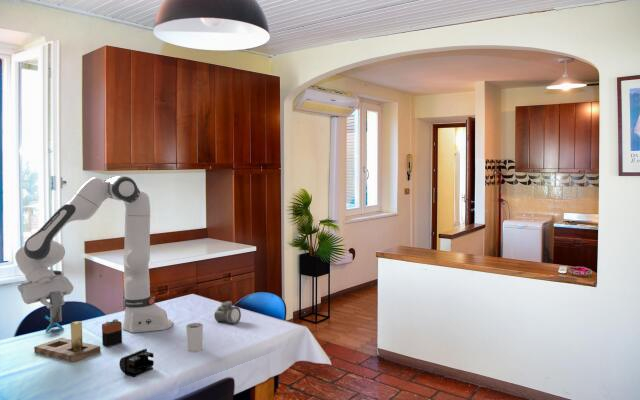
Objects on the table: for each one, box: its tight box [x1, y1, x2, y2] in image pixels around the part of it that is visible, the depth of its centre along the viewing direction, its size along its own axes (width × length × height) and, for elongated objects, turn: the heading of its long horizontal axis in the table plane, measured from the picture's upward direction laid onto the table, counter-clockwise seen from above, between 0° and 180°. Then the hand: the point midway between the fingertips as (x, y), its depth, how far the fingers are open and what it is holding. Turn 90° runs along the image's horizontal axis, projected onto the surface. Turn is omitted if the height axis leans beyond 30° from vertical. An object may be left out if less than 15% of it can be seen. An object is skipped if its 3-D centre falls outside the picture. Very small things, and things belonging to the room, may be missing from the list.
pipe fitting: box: [214, 300, 242, 325], centre depth 240 cm, size 12×8×10 cm
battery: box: [101, 318, 123, 348], centre depth 210 cm, size 4×7×10 cm, turn 142°
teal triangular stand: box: [44, 315, 65, 333], centre depth 228 cm, size 11×6×10 cm
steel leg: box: [49, 291, 62, 323], centre depth 202 cm, size 4×4×12 cm
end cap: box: [118, 348, 155, 378], centre depth 181 cm, size 10×7×7 cm
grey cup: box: [186, 322, 204, 353], centre depth 203 cm, size 7×7×10 cm
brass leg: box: [70, 320, 84, 352], centre depth 197 cm, size 4×4×13 cm
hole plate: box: [33, 337, 101, 363], centre depth 200 cm, size 24×12×2 cm, turn 63°
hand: (56, 305), depth 202 cm, fingers closed on steel leg, 4 cm apart
